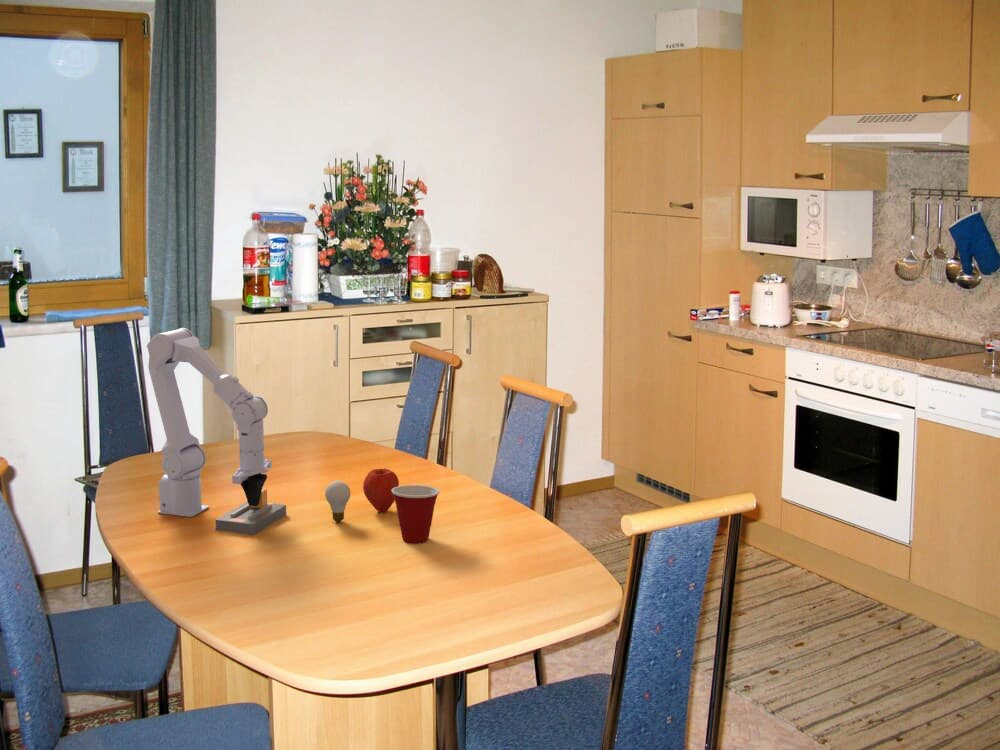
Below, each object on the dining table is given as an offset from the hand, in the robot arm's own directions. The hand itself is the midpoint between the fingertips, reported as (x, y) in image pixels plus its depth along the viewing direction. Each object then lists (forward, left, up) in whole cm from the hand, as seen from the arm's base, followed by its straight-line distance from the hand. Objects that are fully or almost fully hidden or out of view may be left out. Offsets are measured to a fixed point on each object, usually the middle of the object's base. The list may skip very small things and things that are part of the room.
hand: (253, 505), depth 262 cm
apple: (+26, +16, -4) cm, 31 cm away
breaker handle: (0, +3, -1) cm, 3 cm away
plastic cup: (+41, +1, -4) cm, 41 cm away
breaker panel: (0, -1, -4) cm, 4 cm away
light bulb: (+19, +6, -4) cm, 20 cm away
